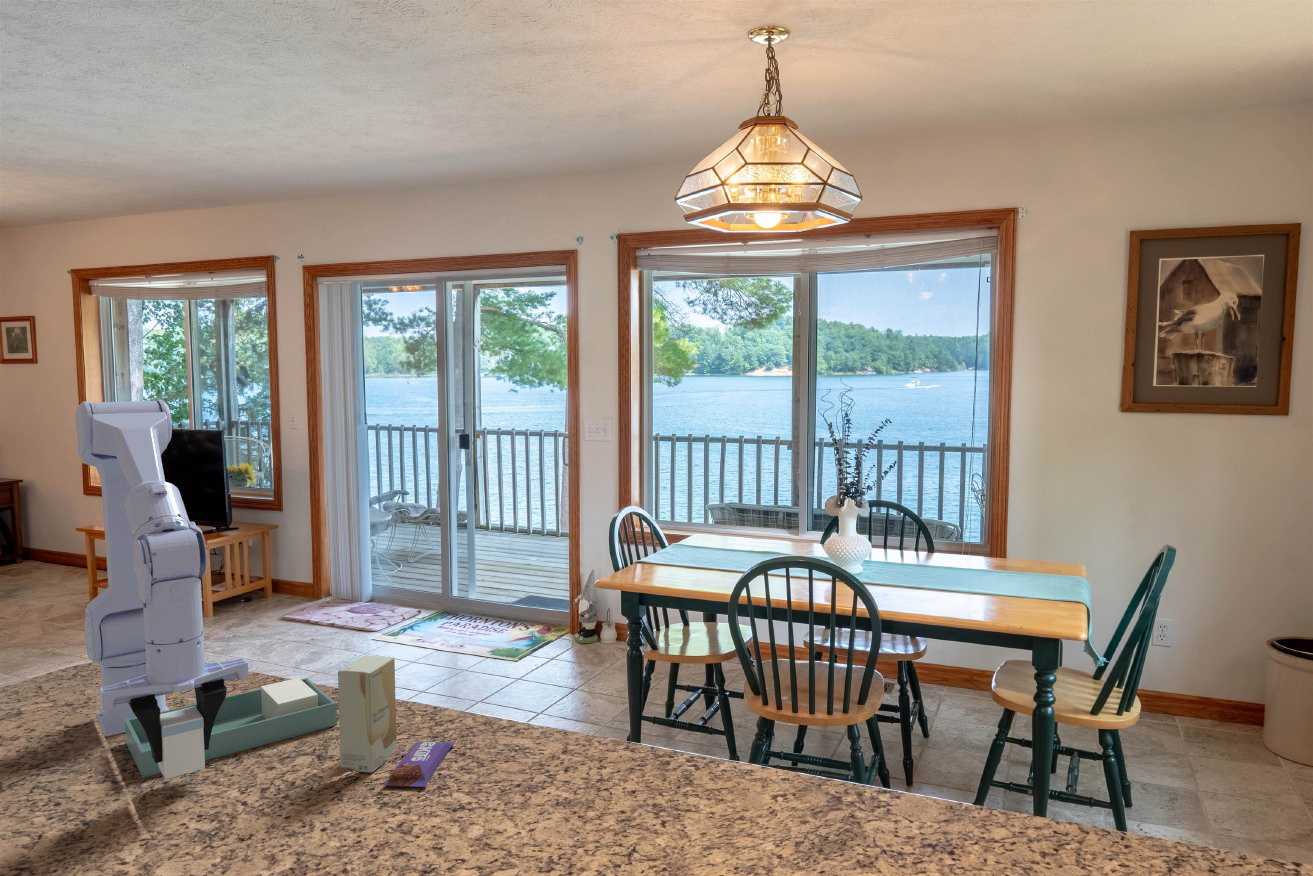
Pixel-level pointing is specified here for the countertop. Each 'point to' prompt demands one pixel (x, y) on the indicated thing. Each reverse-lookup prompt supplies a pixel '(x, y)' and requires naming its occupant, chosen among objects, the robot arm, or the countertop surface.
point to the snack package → (419, 764)
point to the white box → (287, 698)
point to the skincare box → (367, 713)
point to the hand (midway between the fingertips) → (180, 753)
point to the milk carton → (181, 742)
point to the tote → (240, 727)
